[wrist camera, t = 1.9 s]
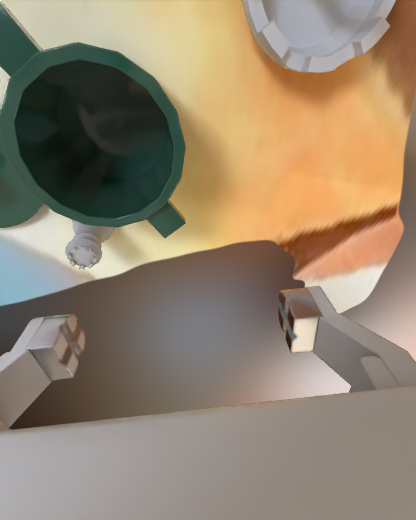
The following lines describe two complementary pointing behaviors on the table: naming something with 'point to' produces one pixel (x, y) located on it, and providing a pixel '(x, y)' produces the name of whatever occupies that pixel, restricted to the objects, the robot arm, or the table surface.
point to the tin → (90, 132)
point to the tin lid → (14, 193)
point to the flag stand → (316, 30)
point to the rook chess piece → (87, 244)
